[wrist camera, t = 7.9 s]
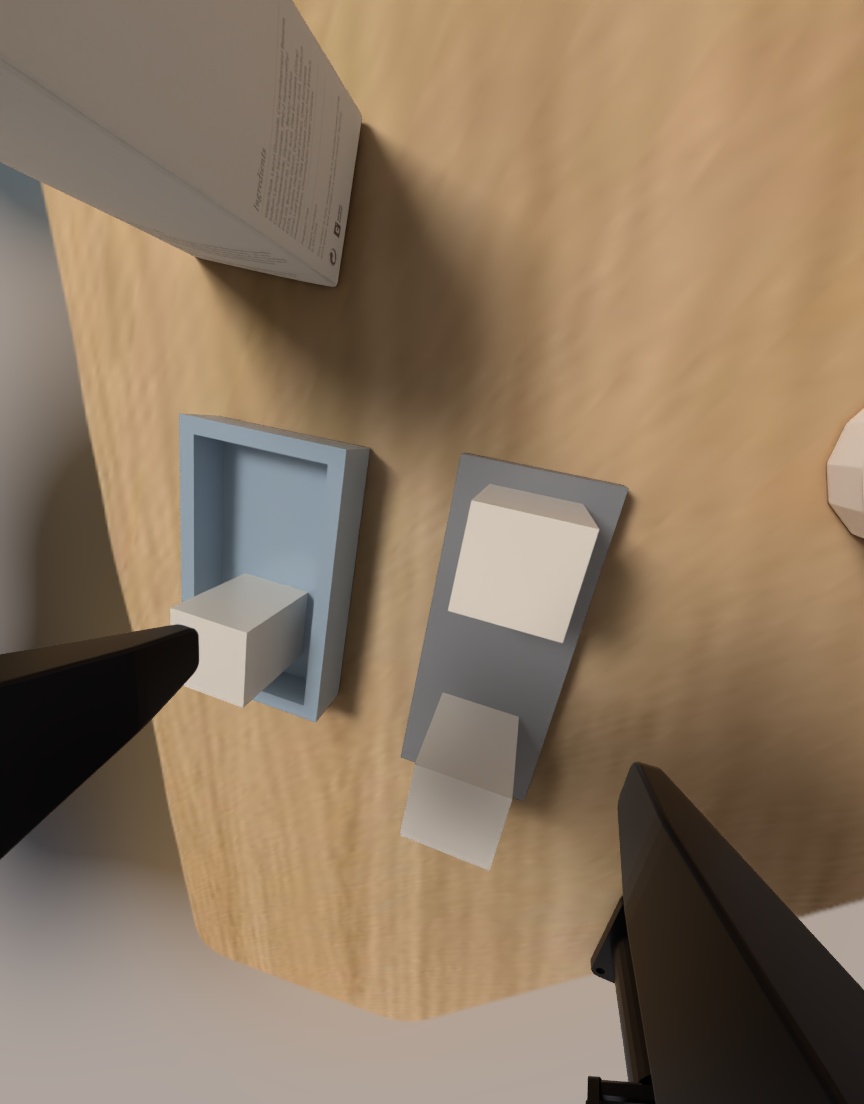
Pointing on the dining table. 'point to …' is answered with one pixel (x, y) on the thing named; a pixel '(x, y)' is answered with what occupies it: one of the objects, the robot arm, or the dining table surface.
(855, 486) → the white cup
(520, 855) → the dining table surface
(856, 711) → the dining table surface
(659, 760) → the dining table surface
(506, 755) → the stone
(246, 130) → the skincare box
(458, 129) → the dining table surface
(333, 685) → the blue bin
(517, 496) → the stone
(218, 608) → the stone
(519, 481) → the slate board
